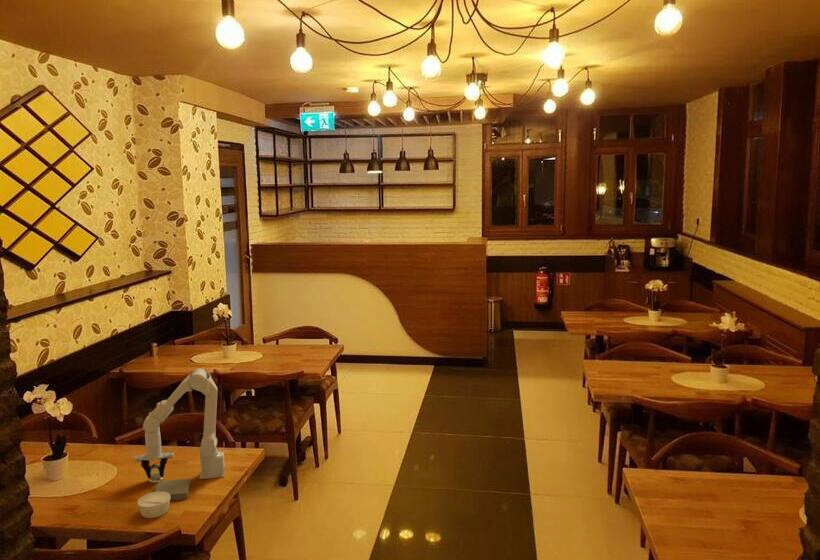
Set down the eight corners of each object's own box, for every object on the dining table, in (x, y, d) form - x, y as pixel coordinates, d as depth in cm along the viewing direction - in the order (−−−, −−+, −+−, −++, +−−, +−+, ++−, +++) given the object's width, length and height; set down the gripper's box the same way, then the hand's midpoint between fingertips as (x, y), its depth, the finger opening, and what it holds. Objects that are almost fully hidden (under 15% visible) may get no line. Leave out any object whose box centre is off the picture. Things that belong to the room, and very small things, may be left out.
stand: (190, 484, 254) (190, 478, 254) (187, 498, 242) (186, 492, 242) (158, 487, 251) (158, 481, 251) (153, 502, 240) (153, 496, 239)
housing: (164, 476, 261) (162, 461, 260) (162, 482, 256) (160, 466, 255) (150, 477, 260) (149, 462, 259) (148, 483, 255) (146, 468, 254)
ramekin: (138, 523, 226) (137, 509, 225) (138, 508, 236) (137, 494, 235) (172, 516, 230) (171, 502, 230) (170, 501, 240) (169, 488, 240)
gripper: (174, 439, 261) (176, 470, 263) (136, 442, 258) (138, 474, 260) (171, 446, 254) (173, 478, 256) (132, 449, 251) (135, 482, 253)
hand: (155, 476), depth 258 cm, fingers closed on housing, 4 cm apart
